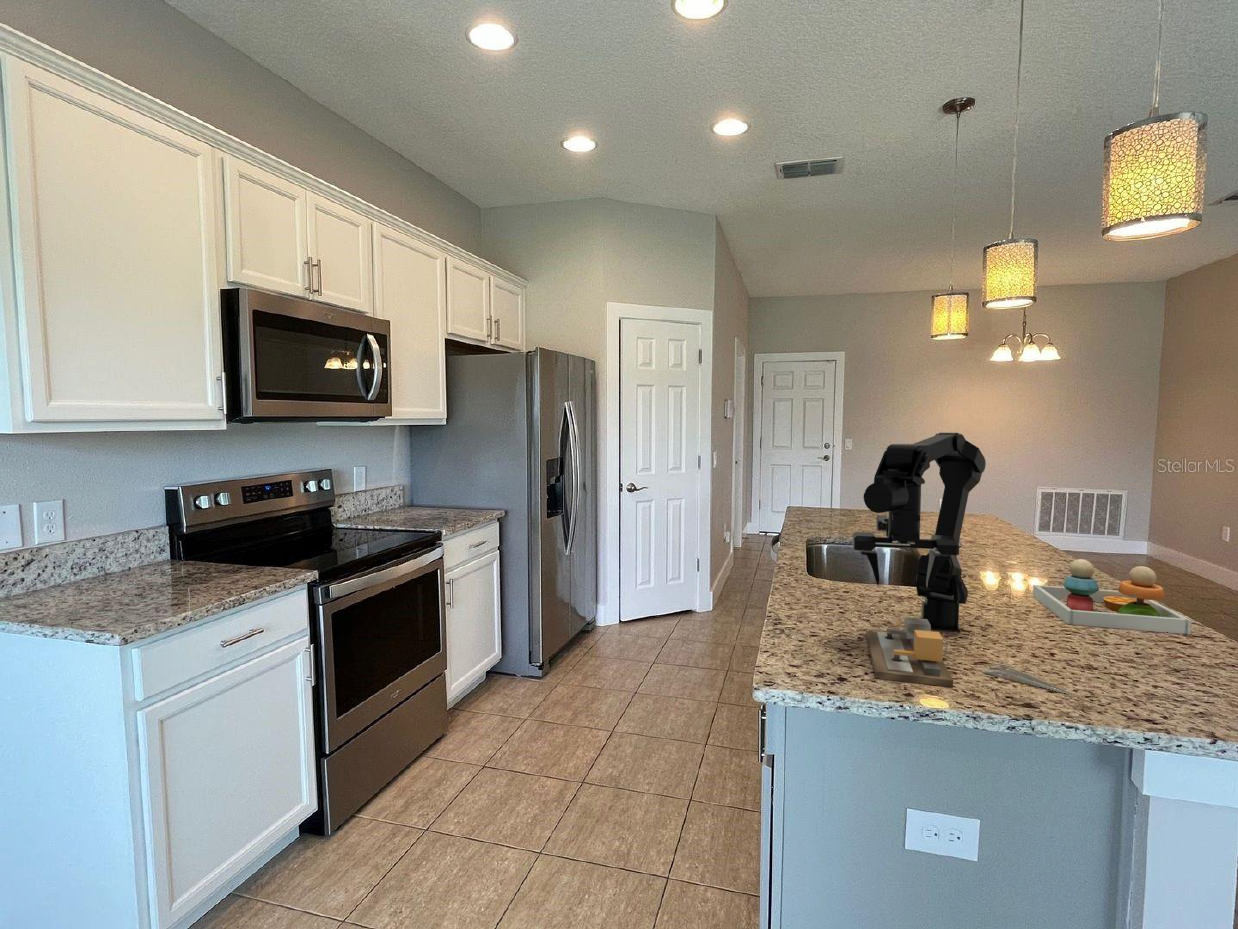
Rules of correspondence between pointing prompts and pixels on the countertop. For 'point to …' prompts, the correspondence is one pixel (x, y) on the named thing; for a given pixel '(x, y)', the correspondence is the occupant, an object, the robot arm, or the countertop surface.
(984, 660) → the countertop surface
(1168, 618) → the parts tray
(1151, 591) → the colourful wooden stacking toy
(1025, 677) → the grey tweezers
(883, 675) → the board
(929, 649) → the orange block with tab
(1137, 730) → the countertop surface
